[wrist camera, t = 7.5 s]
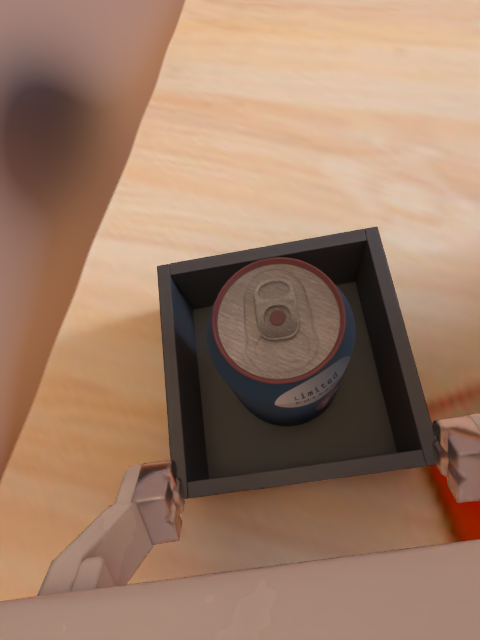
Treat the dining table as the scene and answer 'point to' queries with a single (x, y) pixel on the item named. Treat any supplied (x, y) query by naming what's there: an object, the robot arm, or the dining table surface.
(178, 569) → the dining table surface
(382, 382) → the tub
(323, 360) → the soda can
